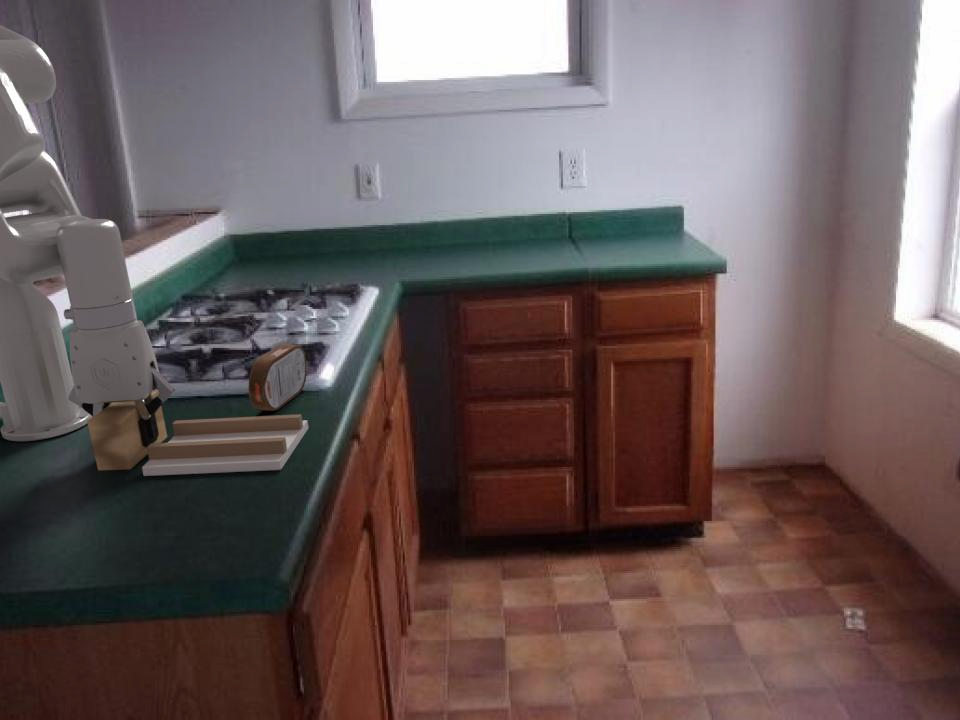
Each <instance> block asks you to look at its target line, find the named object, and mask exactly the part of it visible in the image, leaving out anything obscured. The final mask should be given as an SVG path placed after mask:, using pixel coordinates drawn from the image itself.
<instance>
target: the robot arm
mask: <svg viewBox="0 0 960 720" xmlns="http://www.w3.org/2000/svg"><path fill="white" fill-rule="evenodd" d="M50 60H51V59H50V58H49V57H48V55H47V54H46V53H45V51H44V50H43V49H42V47H40V46H39V45H38V44H37V43H36V42H35V41H32V40H31V39H29V38H27V37H26V36H24V35H21V34H20V33H17V32H16V31H13V30H11V29H10V28H7V27H4V26H3V25H0V385H1V388H2V393H3V398H4V401H5V402H3V401H0V419H1V420H3V424H2V425H1V427H0V433H1V437H2V438H3V439H5V440H7V441H11V442H12V441H13V442H33V441H40V440H45V439H51V438H54V437H59V436H63V435H65V434H68V433H72V432H73V431H75V430H78V429H80V428H82V427H83V426H86V425H88V423H87V421H88V420H89V419H90V418H92V417H93V416H95V415H96V414H98V413H99V412H100V411H102V410H103V409H105V408H106V407H108V406H109V405H110V404H112V403H113V402H131V401H134V402H135V405H136V407H137V409H138V411H139V413H140V415H141V419H140V420H139V421H138V424H139V429H140V434H141V438H142V443H143V446H144V447H148V446H149V445H150V444H153V443H154V442H155V441H156V440H157V438H158V435H159V431H158V426H157V421H156V416H155V413H156V412H157V411H158V409H159V408H160V406H161V407H162V405H163V404H164V402H166V401H167V400H168V399H169V398H170V397H171V396H173V394H174V393H176V389H175V387H174V386H173V385H171V383H170V382H169V381H168V380H167V379H166V378H165V377H164V376H163V375H162V374H161V373H160V370H159V366H158V362H157V357H156V353H155V352H154V348H153V345H152V342H151V339H150V337H149V334H148V332H147V331H148V330H146V327H145V325H144V323H143V321H142V320H138V318H137V317H138V316H137V311H136V307H135V302H134V298H133V292H132V288H131V284H130V277H129V272H128V267H127V263H126V257H125V252H124V248H123V247H124V246H123V243H122V237H121V233H120V228H119V226H118V225H117V224H116V223H115V222H114V221H112V220H110V219H107V218H90V217H88V216H84V215H82V213H81V211H80V208H79V207H78V205H77V202H76V200H75V198H74V197H73V195H72V192H71V191H70V188H69V186H68V184H67V182H66V180H65V178H64V176H63V173H62V172H61V170H60V168H59V166H58V164H57V163H56V162H55V160H54V159H53V158H52V156H50V155H49V154H48V152H46V151H45V150H44V148H45V141H44V138H43V136H42V133H41V131H40V130H39V128H38V126H37V124H36V122H35V120H34V118H33V116H32V114H31V112H30V109H29V108H28V107H27V104H38V103H44V102H47V101H48V100H50V99H51V98H52V97H53V95H54V94H55V91H56V88H57V79H56V77H57V76H56V73H55V69H54V66H53V64H52V62H51V61H50ZM23 211H28V212H29V213H28V214H18V215H17V214H16V215H13V216H12V215H10V216H7V217H6V216H5V215H4V214H8V213H15V212H16V213H17V212H23ZM60 276H64V281H65V286H66V290H67V295H68V300H69V304H70V305H69V308H67V309H64V310H63V317H64V319H66V320H72V322H73V326H75V328H72V329H70V330H69V358H68V353H67V352H68V351H67V347H66V343H65V339H64V334H63V331H62V326H61V321H60V317H59V314H58V310H57V308H56V306H55V304H54V303H53V302H52V300H51V299H50V298H48V297H47V296H46V295H45V294H44V293H43V292H41V291H40V290H39V289H38V288H37V287H36V286H35V285H34V282H37V281H43V280H46V279H47V280H48V279H50V278H56V277H60ZM69 359H70V361H69ZM152 391H158V392H159V394H158V395H157V396H156V397H155V398H153V396H152V394H151V393H152Z"/></svg>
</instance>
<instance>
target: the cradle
mask: <svg viewBox="0 0 960 720" xmlns="http://www.w3.org/2000/svg"><path fill="white" fill-rule="evenodd" d="M171 425H172V429H173V434H174V435H173V436H172V437H171V438H170V440H169V441H168V442H161V443H153V444H150V445H149V446H148V447H147V450H148V454H147V456H148V458H149V459H148V461H147V462H146V463H144V465H143V466H142V467H141V469H142V474H143V476H144V477H148V476H152V477H153V476H169V475H170V476H171V475H172V476H173V475H175V476H176V475H192V474H194V475H195V474H196V475H198V474H215V473H216V474H218V473H236V472H239V473H240V472H257V471H258V472H259V471H261V472H262V471H281V470H282V468H283V467H284V466H285V464H286V463H287V461H288V460H289V458H290V457H291V455H292V454H293V452H294V450H295V449H296V448H297V446H298V445H299V444H300V442H301V440H302V439H303V437H304V436H305V434H306V433H307V432H308V429H309V423H308V420H305V419H304V420H303V416H302V414H300V413H299V414H281V415H280V414H279V415H261V416H260V415H259V416H241V417H224V418H223V417H221V418H199V419H181V420H175V421H173V422H172V423H171Z"/></svg>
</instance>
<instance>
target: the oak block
mask: <svg viewBox="0 0 960 720" xmlns="http://www.w3.org/2000/svg"><path fill="white" fill-rule="evenodd" d="M151 394H152V396H153V398H155V397H156V396H157V395H158V394H159V391H158V390H153V391H152V393H151ZM155 416H156V421H157V426H158V431H159V435H158V438H157V440H156V441H155V442H154V443H163V441H165V440H166V439H167V438H168V433H167V429H166V422H165V418H164V413H163V408H162V405H161V406H160V408H159V409H158V411H157V412H156V413H155ZM140 419H141V415H140V413H139V411H138V409H137V407H136V405H135V402H134V401H131V402H113V403H111V404H110V405H109V406H108V407H106V408H105V409H103V410H102V411H100V412H99V413H98V414H96V415H95V416H92V418H90V419H89V420H88V421H87V427H88V431H89V436H90V440H91V445H92V449H93V454H94V458H95V461H96V467H97V471H117V470H124V471H125V470H132V469H133V468H134V467H135V466H136V465H137V464H139V463H140V462H141V461H142V460H143V459H144V458H145V457H146V456H148V450H147V447H144V446H143V443H142V438H141V434H140V429H139V424H138V421H139V420H140Z"/></svg>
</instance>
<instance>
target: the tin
mask: <svg viewBox="0 0 960 720" xmlns="http://www.w3.org/2000/svg"><path fill="white" fill-rule="evenodd" d="M306 360H307V359H306V352H305V350H304V349H303V348H302V346H300V345H298V344H288V343H281V344H279V345H278V346H275V347H274V348H273V349H271V350H270V351H267V352H266V353H265V354H264V353H263V354H262V355H261V356H259V357H257V359H256V360H255V361H254V363H253V364H252V367H251V370H250V373H249V377H248V396H249V400H250V403H251V405H252V407H253V408H254V409H255V410H257V411H259V412H263V411H265V412H266V411H267V412H276V411H277V410H278V411H279V409H280V408H282V407H283V406H285V405H286V404H287V403H288V402H290V401H291V400H292V399H294V398H295V397H297V396H299V394H300V393H301V392H302V391H303V389H304V387H305V384H306V381H307V373H308V371H307V361H306Z"/></svg>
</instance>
